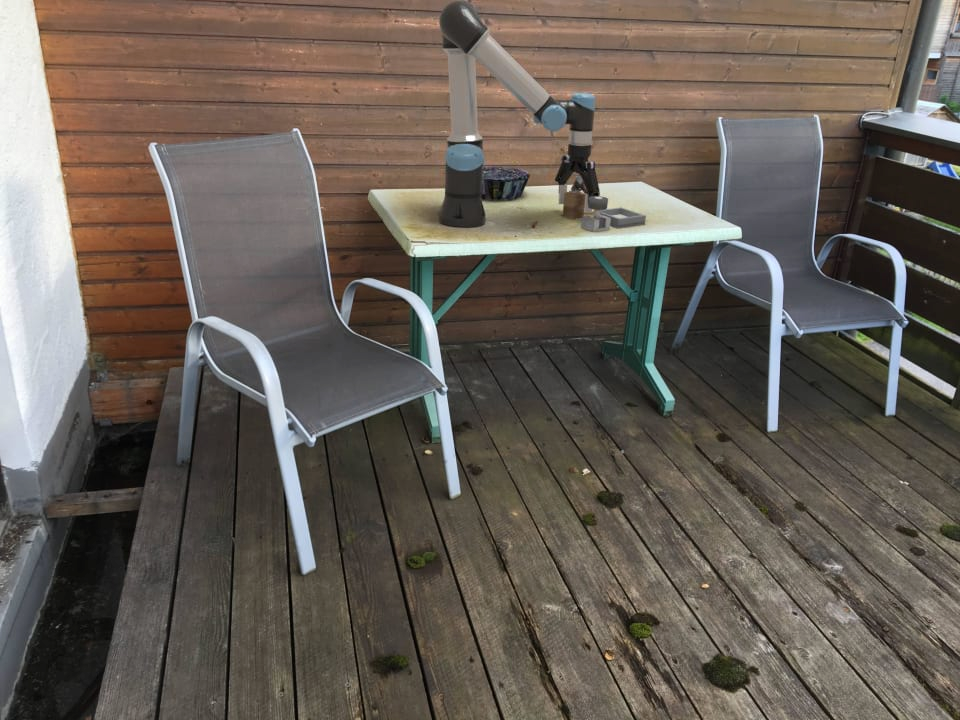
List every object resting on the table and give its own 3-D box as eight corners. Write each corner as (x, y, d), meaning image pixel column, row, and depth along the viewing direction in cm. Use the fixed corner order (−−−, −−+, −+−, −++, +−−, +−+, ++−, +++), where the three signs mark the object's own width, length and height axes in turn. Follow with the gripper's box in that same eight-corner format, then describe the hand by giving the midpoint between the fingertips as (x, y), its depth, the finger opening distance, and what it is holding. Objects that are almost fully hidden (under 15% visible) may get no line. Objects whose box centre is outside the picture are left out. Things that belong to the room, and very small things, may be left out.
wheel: (595, 220, 243) (597, 200, 240) (583, 215, 247) (585, 196, 245) (609, 218, 246) (612, 198, 243) (597, 213, 250) (599, 194, 248)
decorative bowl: (522, 210, 274) (526, 182, 269) (446, 198, 277) (449, 170, 272) (530, 195, 296) (534, 169, 292) (461, 183, 300) (463, 158, 295)
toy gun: (587, 213, 281) (591, 187, 275) (568, 191, 297) (572, 166, 291) (598, 212, 282) (603, 186, 277) (578, 190, 298) (583, 166, 292)
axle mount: (593, 232, 244) (594, 220, 243) (580, 227, 249) (582, 215, 247) (609, 229, 248) (611, 218, 246) (597, 225, 252) (598, 213, 251)
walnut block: (571, 219, 258) (574, 193, 254) (562, 215, 262) (564, 190, 258) (583, 217, 260) (585, 192, 257) (573, 214, 264) (576, 189, 261)
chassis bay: (617, 228, 250) (618, 219, 248) (593, 219, 259) (594, 210, 257) (644, 224, 256) (646, 215, 254) (620, 216, 265) (621, 207, 263)
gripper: (614, 149, 243) (607, 215, 252) (564, 137, 262) (560, 199, 271) (596, 150, 240) (590, 217, 249) (547, 138, 258) (543, 201, 267)
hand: (574, 208), depth 260 cm, fingers open, 13 cm apart
